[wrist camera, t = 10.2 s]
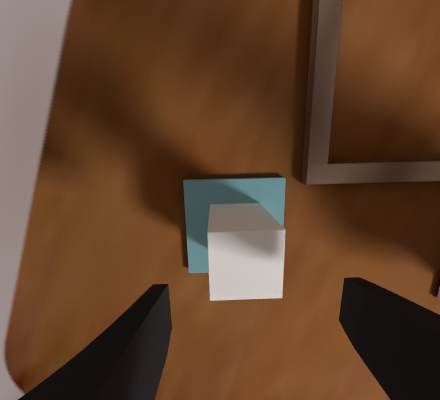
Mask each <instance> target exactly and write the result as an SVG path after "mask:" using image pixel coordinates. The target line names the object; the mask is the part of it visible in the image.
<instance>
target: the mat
mask: <svg viewBox="0 0 440 400" xmlns="http://www.w3.org/2000/svg"><path fill="white" fill-rule="evenodd" d="M285 183H286V178H284V177H267V178H229V179H190V180H183V187H184V203H185V218H186V234H187V250H188V266H189V273H209V259H208V233H207V232H208V221H209V210H210V204H238V203H261V204H262V206H263V207H264V208H265V209H266V210H267V211H268V212H269V213H270V214H271V215H272V216H273V217H274V218H275V219H276V220H277V222H278V223H279V224H280V225H281V226H282V227H283V224H284V204H285Z"/></svg>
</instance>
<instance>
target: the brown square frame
mask: <svg viewBox="0 0 440 400" xmlns="http://www.w3.org/2000/svg"><path fill="white" fill-rule="evenodd" d="M342 2H343V0H313V8H312V23H311V38H310V54H309V69H308V85H307V100H306V116H305V131H304V146H303V162H302V177H301V183H304V184H343V183H381V182H418V181H440V161H408V162H368V163H328V155H329V144H330V133H331V122H332V111H333V100H334V89H335V78H336V67H337V56H338V46H339V35H340V24H341V13H342Z"/></svg>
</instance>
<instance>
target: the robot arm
mask: <svg viewBox="0 0 440 400" xmlns="http://www.w3.org/2000/svg"><path fill="white" fill-rule="evenodd" d="M437 298H438V299H439V300H440V287H439V291H438V295H437ZM339 321H340V323H341V325H342V327H343V329H344V331H345V332H346V334H347V336H348V338H349V340H350V341H351V343H352V345H353V347H354V348H355V350H356V351H357V353H358V354H359V356H360V357H361V358H362V360H363V361H364V363H365V364H366V366H367V367H368V368H369V370H370V371H371V373H372V374H373V376H374V377H375V378H376V380H377V381H378V383H379V384H380V385H381V387H382V388H383V390H384V391H385V392H386V394H387V395H388V397H389V398H390V400H440V315H439V314H437V313H434V312H432V311H430V310H428V309H426V308H424V307H422V306H420V305H418V304H416V303H414V302H411V301H409V300H407V299H405V298H403V297H401V296H399V295H397V294H395V293H393V292H391V291H389V290H387V289H385V288H382V287H380V286H378V285H376V284H374V283H372V282H369V281H367V280H365V279H362V278H359V277H354V278H344V284H343V292H342V300H341V308H340V316H339ZM171 329H172V322H171V311H170V300H169V288H168V284H155V285H152V286H151V287H150V288H149V289H148V290H147V291H146V292H145V293H144V294H143V295H142V296H141V297H140V298H139V299H138V300H137V301H136V302H135V303H134V304H133V305H132V306H131V307H130V308H129V309H127V310H126V311H125V312H124V313H123V314H122V315H121V316H120V317H119V318H118V319H117V320H116V321H115V322H114V323H113V324H112V325H111V326H109V327H108V328H107V329H106V330H105V331H104V332H103V333H101V334H100V335H99V336H98V337H97V338H96V339H95V340H94V341H92V342H91V343H90V344H89V345H88V346H87V347H86V348H84V349H83V350H82V351H81V352H80V353H78V354H77V355H76V356H75V357H74V358H72V359H71V360H70V361H69V362H67V363H66V364H65V365H64V366H62V367H61V368H60V369H58V370H57V371H56V372H55V373H53V374H52V375H51V376H49V377H48V378H47V379H46V380H44V381H43V382H42V383H40V384H39V385H38V386H36V387H35V388H34V389H32V390H31V391H29V392H28V393H27V394H25V395H24V396H23V397H21V398H20V399H18V400H155V396H156V393H157V389H158V385H159V382H160V378H161V375H162V371H163V368H164V364H165V360H166V357H167V352H168V347H169V341H170V335H171Z"/></svg>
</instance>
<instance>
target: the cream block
mask: <svg viewBox="0 0 440 400" xmlns="http://www.w3.org/2000/svg"><path fill="white" fill-rule="evenodd" d="M207 233H208V259H209V284H210V301H212V300H238V299H264V298H282V289H283V269H284V249H285V229H284V228H283V227H282V226H281V225H280V224H279V223H278V222H277V220H276V219H275V218H274V217H273V216H272V215H271V214H270V213H269V212H268V211H267V210H266V209H265V208H264V207H263V206H262V204H261V203H238V204H210V210H209V221H208V232H207Z"/></svg>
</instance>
